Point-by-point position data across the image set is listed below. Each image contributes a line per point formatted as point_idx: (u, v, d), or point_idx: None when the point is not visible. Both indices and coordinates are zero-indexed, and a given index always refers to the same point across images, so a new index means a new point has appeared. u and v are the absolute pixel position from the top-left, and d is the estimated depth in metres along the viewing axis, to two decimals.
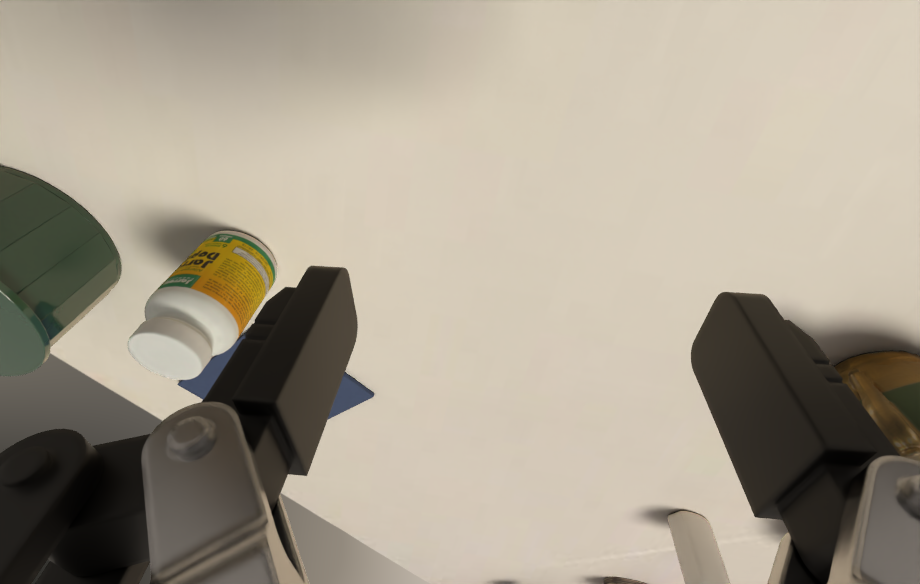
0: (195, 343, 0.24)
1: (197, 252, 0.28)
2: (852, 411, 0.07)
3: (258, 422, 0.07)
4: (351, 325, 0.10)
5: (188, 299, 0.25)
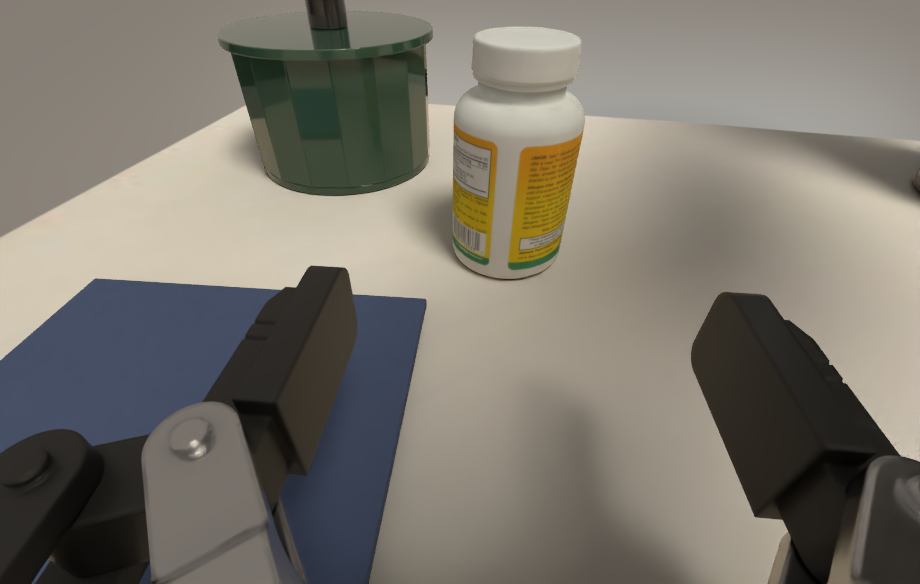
0: (579, 56, 0.16)
1: None
2: (852, 411, 0.07)
3: (258, 422, 0.07)
4: (351, 325, 0.10)
5: None
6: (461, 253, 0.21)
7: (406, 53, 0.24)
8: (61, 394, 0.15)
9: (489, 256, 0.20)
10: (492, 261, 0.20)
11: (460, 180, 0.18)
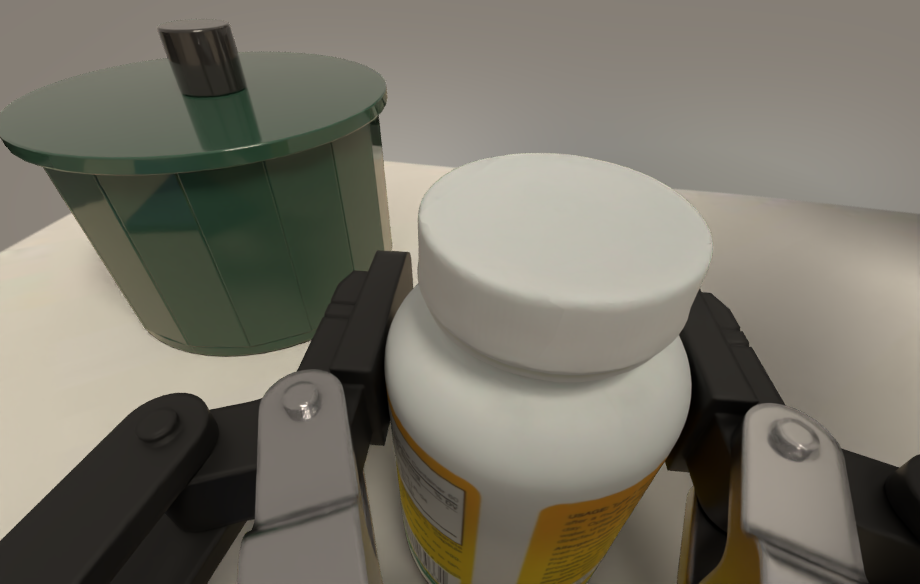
0: None
1: None
2: (751, 370, 0.08)
3: (352, 390, 0.07)
4: None
5: None
6: (416, 559, 0.11)
7: (332, 143, 0.14)
8: None
9: None
10: None
11: (403, 478, 0.08)
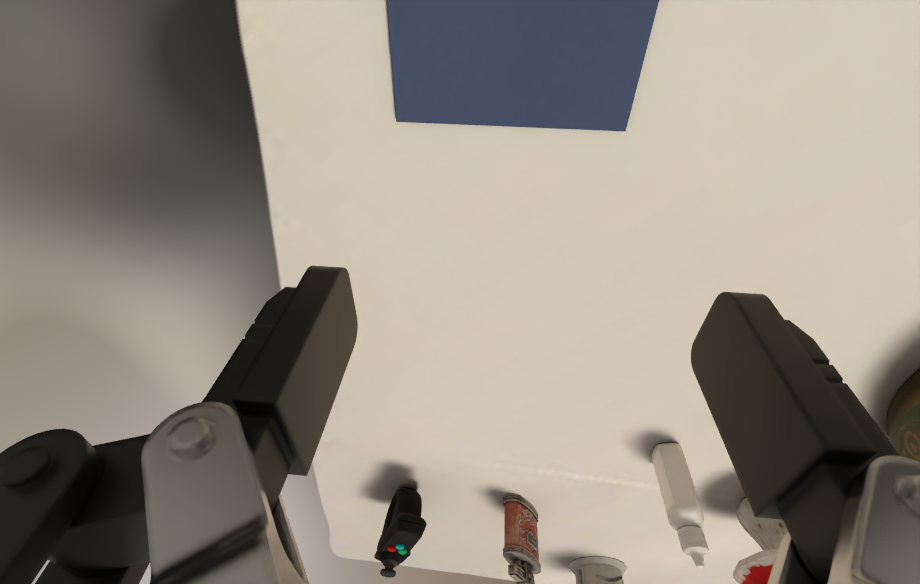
0: None
1: None
2: (852, 411, 0.07)
3: (258, 422, 0.07)
4: (351, 325, 0.10)
5: None
6: None
7: None
8: (446, 19, 0.25)
9: None
10: None
11: None
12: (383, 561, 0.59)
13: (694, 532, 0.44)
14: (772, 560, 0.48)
